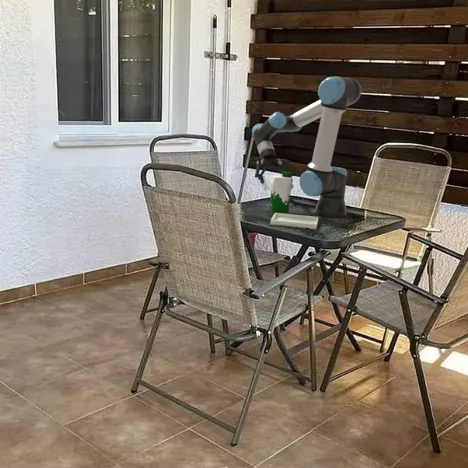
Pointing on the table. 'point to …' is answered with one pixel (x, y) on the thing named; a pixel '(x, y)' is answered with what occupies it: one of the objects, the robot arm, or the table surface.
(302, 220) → the tray
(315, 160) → the robot arm
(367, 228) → the table surface
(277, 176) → the soya milk
